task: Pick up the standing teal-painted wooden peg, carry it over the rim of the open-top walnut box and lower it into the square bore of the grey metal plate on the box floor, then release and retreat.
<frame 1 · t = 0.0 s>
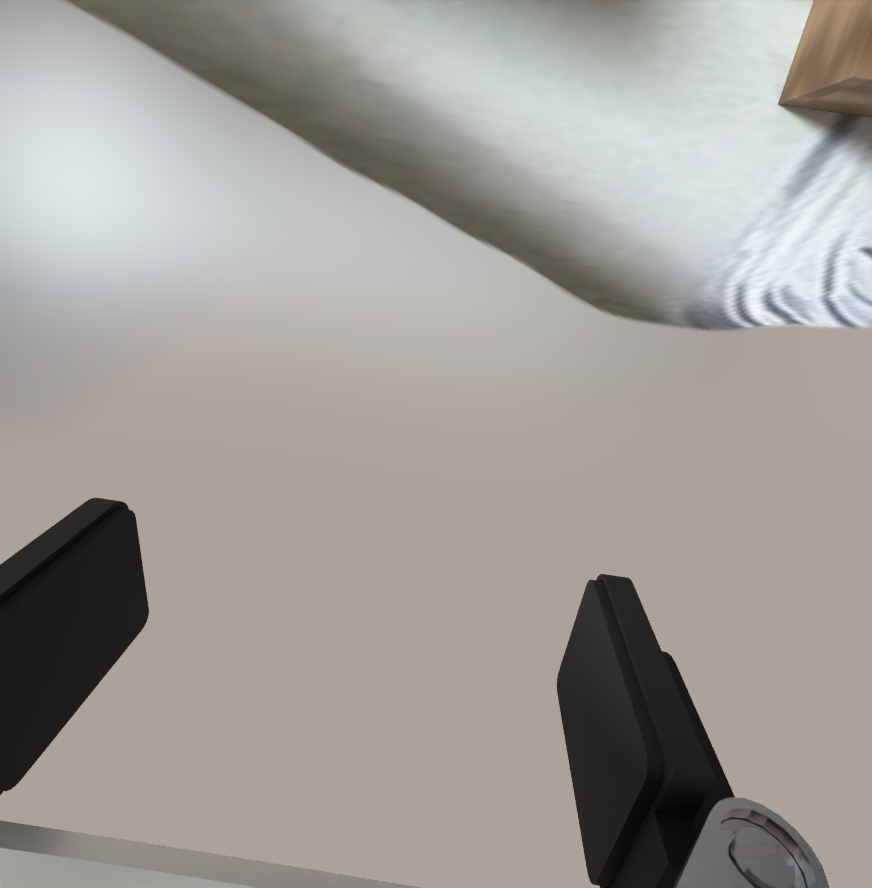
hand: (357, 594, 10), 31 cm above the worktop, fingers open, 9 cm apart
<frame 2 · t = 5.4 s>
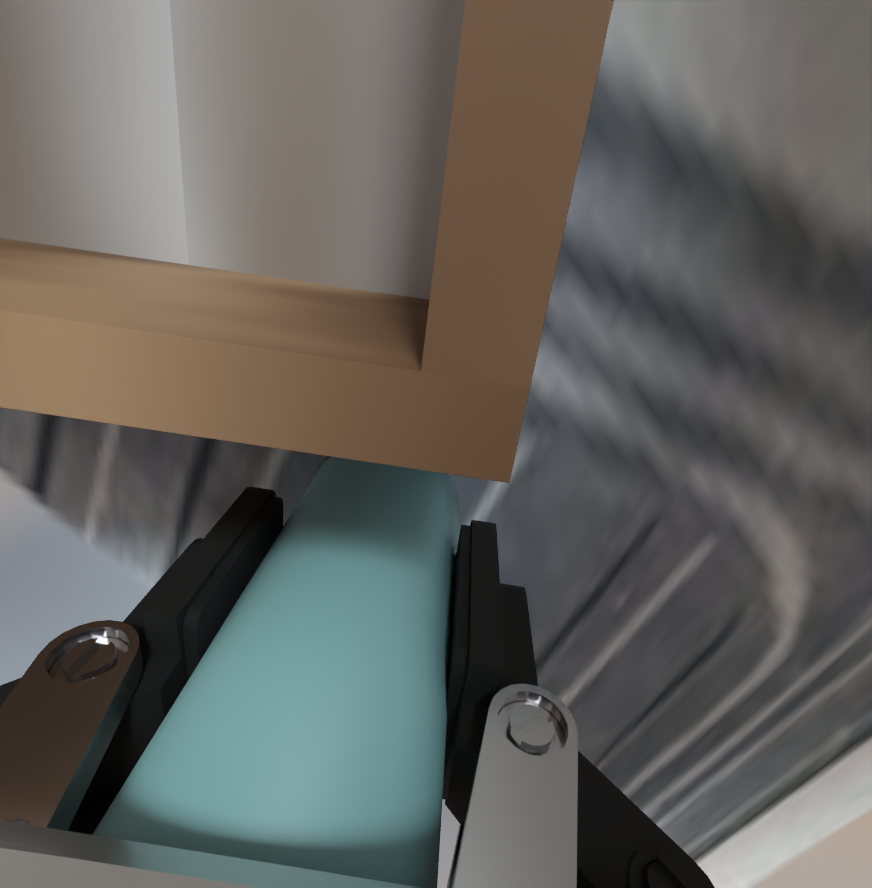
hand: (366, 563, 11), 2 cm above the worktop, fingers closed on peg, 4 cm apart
peg: (384, 508, 14), on the worktop, touching gripper
when the fingers open (4 cm above the worktop, at t = 10.1 s): peg drops 1 cm, resting in box.
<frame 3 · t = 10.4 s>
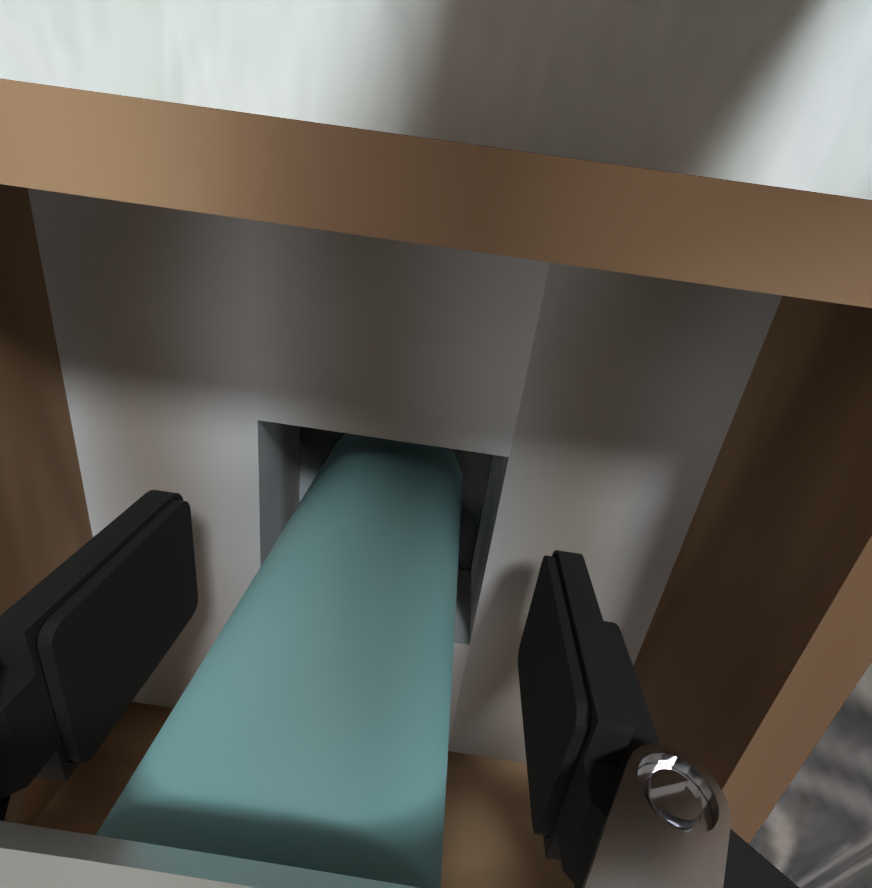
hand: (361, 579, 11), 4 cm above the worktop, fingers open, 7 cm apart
box: (392, 482, 15), on the worktop
peg: (394, 481, 15), resting in box
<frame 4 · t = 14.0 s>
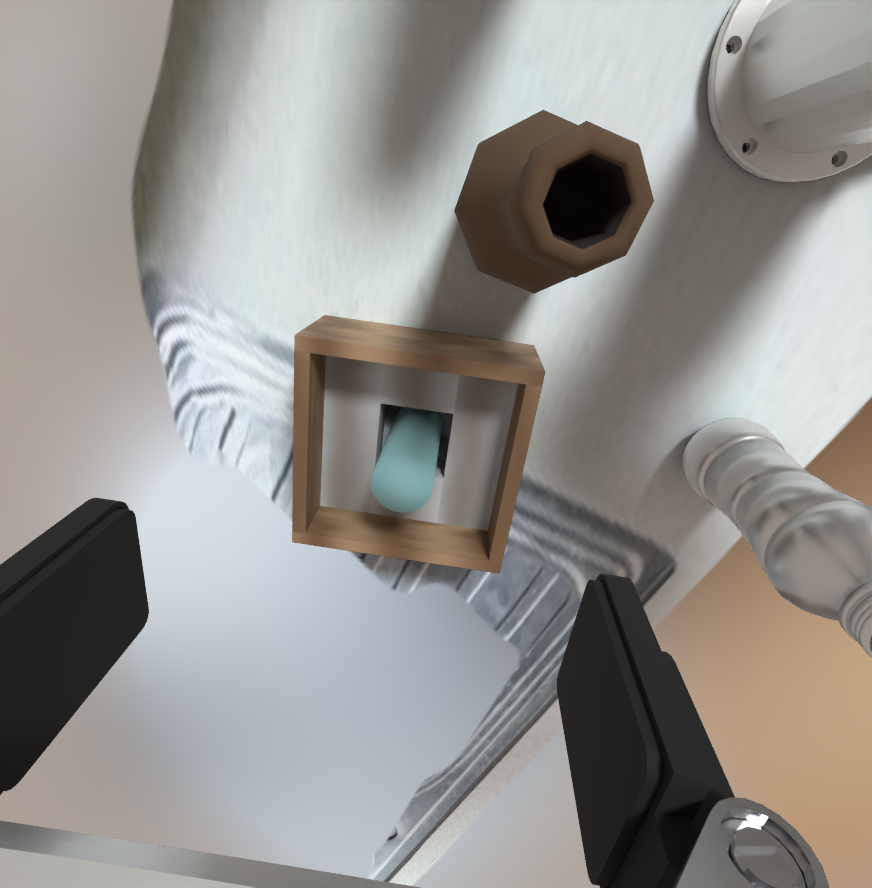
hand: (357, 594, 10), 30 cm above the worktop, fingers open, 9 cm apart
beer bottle: (517, 209, 35), on the worktop
box: (417, 427, 42), on the worktop
plastic bottle: (715, 446, 41), on the worktop
peg: (417, 426, 42), resting in box
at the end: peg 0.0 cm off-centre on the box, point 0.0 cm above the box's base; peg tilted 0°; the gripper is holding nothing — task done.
